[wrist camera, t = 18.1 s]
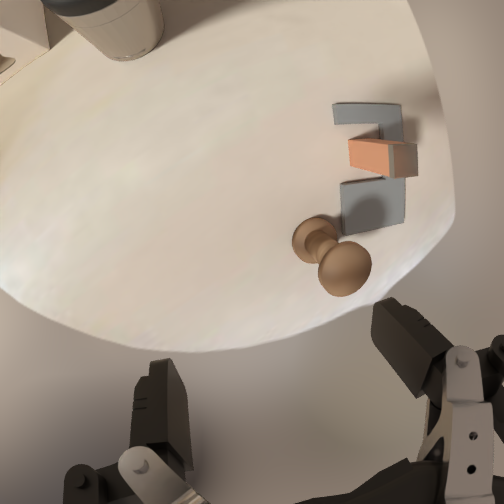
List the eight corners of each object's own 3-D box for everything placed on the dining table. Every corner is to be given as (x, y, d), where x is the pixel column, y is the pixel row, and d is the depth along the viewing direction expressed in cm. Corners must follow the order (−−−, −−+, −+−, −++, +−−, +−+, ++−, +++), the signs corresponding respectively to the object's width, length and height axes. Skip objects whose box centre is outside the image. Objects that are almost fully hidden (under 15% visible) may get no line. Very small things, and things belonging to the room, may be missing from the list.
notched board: (332, 104, 36) (335, 104, 35) (395, 105, 38) (400, 105, 37) (342, 233, 45) (345, 235, 44) (399, 220, 46) (403, 222, 45)
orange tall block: (347, 139, 39) (392, 145, 29) (369, 137, 39) (417, 143, 29) (350, 166, 41) (394, 179, 31) (371, 163, 41) (418, 175, 31)
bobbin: (289, 222, 42) (320, 251, 32) (332, 213, 43) (372, 239, 33) (293, 264, 45) (322, 302, 35) (334, 255, 46) (370, 288, 36)
